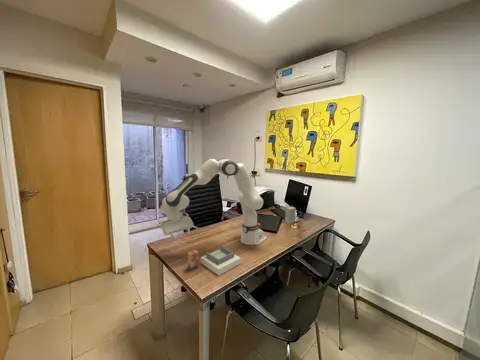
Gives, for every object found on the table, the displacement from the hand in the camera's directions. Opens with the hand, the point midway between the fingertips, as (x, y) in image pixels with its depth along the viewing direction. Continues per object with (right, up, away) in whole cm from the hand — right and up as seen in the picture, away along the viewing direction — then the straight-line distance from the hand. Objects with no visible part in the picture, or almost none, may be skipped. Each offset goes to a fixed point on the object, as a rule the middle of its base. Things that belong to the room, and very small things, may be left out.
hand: (182, 236), depth 131 cm
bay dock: (+25, -17, -1) cm, 30 cm away
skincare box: (+87, -7, +73) cm, 114 cm away
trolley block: (+8, -17, -6) cm, 20 cm away
